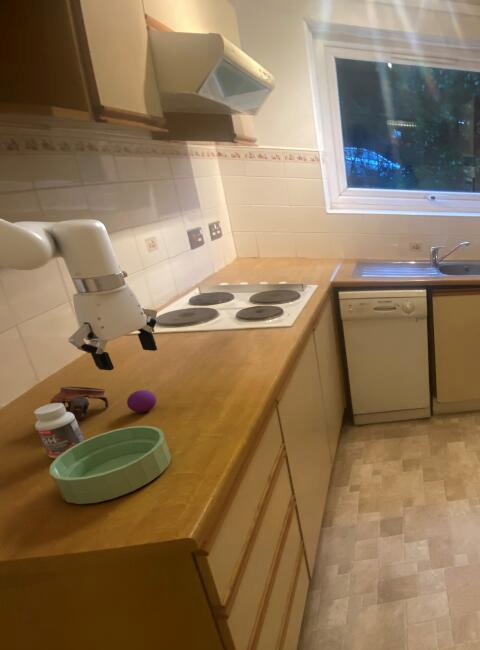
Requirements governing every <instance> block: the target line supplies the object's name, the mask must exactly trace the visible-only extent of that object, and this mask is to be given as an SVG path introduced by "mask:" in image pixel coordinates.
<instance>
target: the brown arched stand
mask: <svg viewBox="0 0 480 650" xmlns="http://www.w3.org/2000/svg"><path fill="white" fill-rule="evenodd" d="M105 391H106V390H105V389H103V388H98V387H97V388H96V387H85V386H84V387H83V386H61V387H60V391H59V392H58V393H57V394H55V395H54V396H53V397H52V398H50V401H49V404H53V403H62V404H64V406H65V409H66V412H70V413H72V414H73V415H74V416H75V418H76V421H77V423H79V422H81V421H84V420H86V419H87V416H88V409H89V406H90V402H89V400H88V399H92V400H93V399H95V400H101V401H103V402H104V406H105V408H106V409H108V408H109V399H108V397H107V396H106V395H105ZM66 404H67V406H66Z"/></svg>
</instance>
